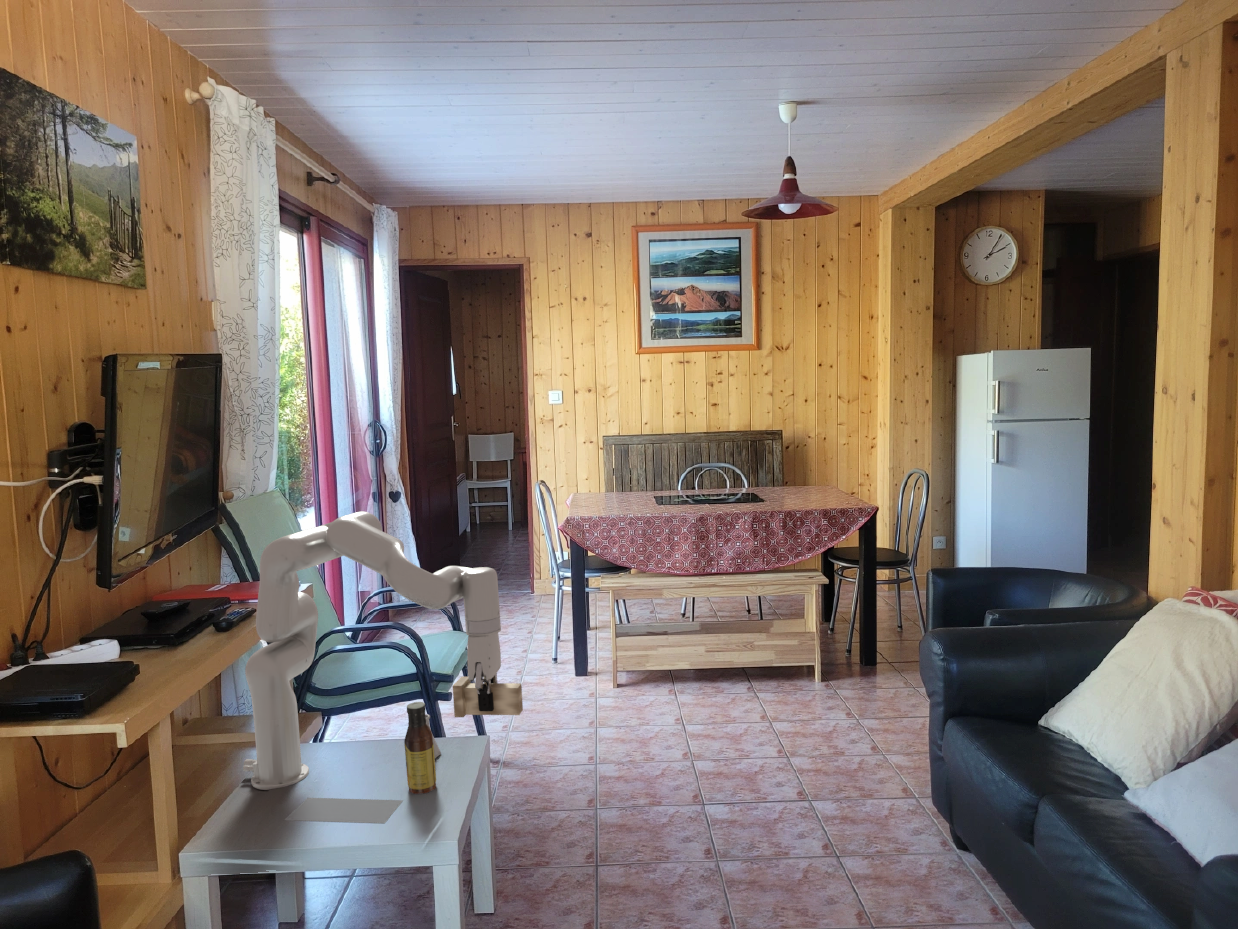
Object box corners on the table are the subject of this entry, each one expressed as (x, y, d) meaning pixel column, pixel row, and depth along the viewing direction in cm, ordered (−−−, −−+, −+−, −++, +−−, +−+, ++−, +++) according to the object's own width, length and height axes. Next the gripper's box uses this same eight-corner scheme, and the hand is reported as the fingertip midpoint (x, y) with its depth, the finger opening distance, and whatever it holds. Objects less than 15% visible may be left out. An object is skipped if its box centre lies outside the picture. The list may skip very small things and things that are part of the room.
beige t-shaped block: (454, 717, 188) (452, 685, 188) (463, 707, 194) (461, 676, 193) (517, 717, 186) (515, 686, 186) (524, 707, 192) (522, 676, 191)
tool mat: (284, 823, 182) (284, 820, 182) (307, 800, 192) (307, 797, 191) (384, 826, 179) (384, 823, 178) (403, 803, 188) (403, 800, 188)
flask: (423, 765, 208) (421, 724, 207) (403, 758, 212) (401, 718, 211) (446, 754, 213) (444, 714, 213) (426, 748, 218) (424, 709, 217)
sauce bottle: (417, 782, 198) (412, 697, 196) (442, 785, 196) (436, 699, 194) (402, 795, 192) (396, 708, 190) (427, 798, 190) (421, 710, 188)
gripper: (477, 615, 197) (483, 694, 199) (454, 636, 181) (460, 722, 183) (509, 615, 196) (515, 694, 198) (489, 635, 180) (495, 722, 181)
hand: (488, 707), depth 190 cm, fingers closed on beige t-shaped block, 3 cm apart
